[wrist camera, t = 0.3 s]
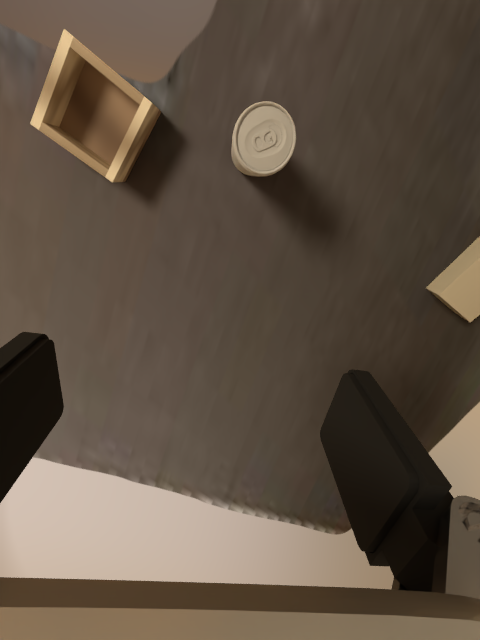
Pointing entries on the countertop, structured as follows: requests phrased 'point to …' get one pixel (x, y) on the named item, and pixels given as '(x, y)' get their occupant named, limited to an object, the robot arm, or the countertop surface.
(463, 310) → the electrical outlet
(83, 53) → the can holder block
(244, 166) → the beverage can
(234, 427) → the countertop surface
